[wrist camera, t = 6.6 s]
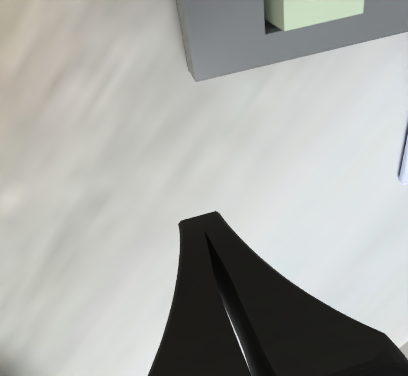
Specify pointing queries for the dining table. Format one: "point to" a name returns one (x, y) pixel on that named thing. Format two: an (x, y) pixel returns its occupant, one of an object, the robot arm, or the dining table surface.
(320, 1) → the key sage
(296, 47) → the keypad
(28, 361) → the dining table surface
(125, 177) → the dining table surface
